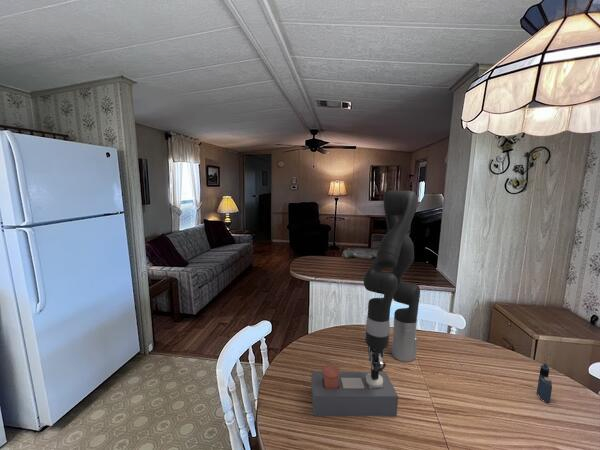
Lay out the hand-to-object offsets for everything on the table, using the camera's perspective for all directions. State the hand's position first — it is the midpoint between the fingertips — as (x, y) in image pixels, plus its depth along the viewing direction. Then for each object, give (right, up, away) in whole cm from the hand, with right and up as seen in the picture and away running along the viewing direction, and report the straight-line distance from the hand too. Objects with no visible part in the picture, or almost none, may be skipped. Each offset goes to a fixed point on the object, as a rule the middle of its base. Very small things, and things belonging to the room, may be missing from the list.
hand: (374, 378), depth 95 cm
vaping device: (+62, -10, +5) cm, 63 cm away
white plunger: (0, -7, +1) cm, 7 cm away
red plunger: (-15, -4, 0) cm, 16 cm away
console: (-8, -9, +1) cm, 12 cm away
